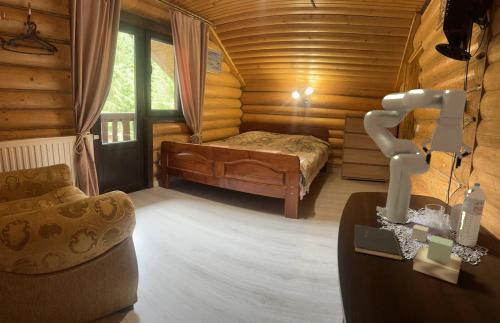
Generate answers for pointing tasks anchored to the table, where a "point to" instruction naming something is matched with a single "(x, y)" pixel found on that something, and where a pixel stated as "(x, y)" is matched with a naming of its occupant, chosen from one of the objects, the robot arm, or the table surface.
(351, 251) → the table surface
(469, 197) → the water bottle
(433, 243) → the sage cube
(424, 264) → the birch block
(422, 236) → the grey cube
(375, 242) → the hardcover book
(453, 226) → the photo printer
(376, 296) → the table surface
